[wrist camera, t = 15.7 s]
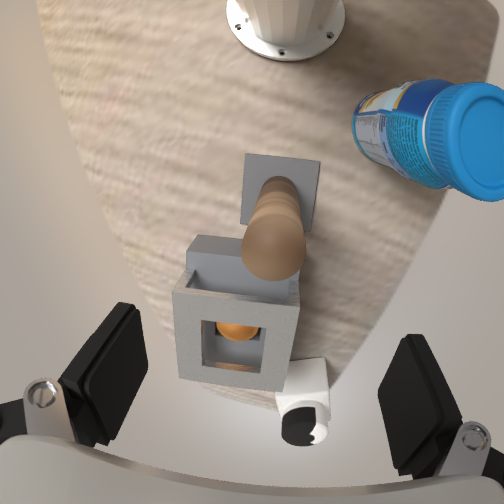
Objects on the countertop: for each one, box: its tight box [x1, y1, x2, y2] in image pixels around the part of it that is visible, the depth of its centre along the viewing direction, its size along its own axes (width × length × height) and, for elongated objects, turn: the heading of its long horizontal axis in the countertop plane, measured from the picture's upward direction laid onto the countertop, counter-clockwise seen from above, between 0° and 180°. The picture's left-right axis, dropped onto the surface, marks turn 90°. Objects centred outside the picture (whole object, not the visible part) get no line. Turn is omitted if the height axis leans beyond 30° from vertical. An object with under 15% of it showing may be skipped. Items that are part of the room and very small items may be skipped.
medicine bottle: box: [275, 357, 331, 446], centre depth 39 cm, size 7×7×12 cm
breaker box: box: [186, 235, 300, 367], centre depth 38 cm, size 16×12×5 cm
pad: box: [240, 154, 320, 231], centre depth 34 cm, size 8×8×1 cm
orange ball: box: [216, 322, 259, 341], centre depth 37 cm, size 5×5×6 cm
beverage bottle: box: [352, 79, 504, 202], centre depth 21 cm, size 8×8×20 cm
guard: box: [172, 268, 300, 392], centre depth 33 cm, size 12×12×5 cm
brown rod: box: [241, 176, 306, 281], centre depth 26 cm, size 4×4×16 cm
